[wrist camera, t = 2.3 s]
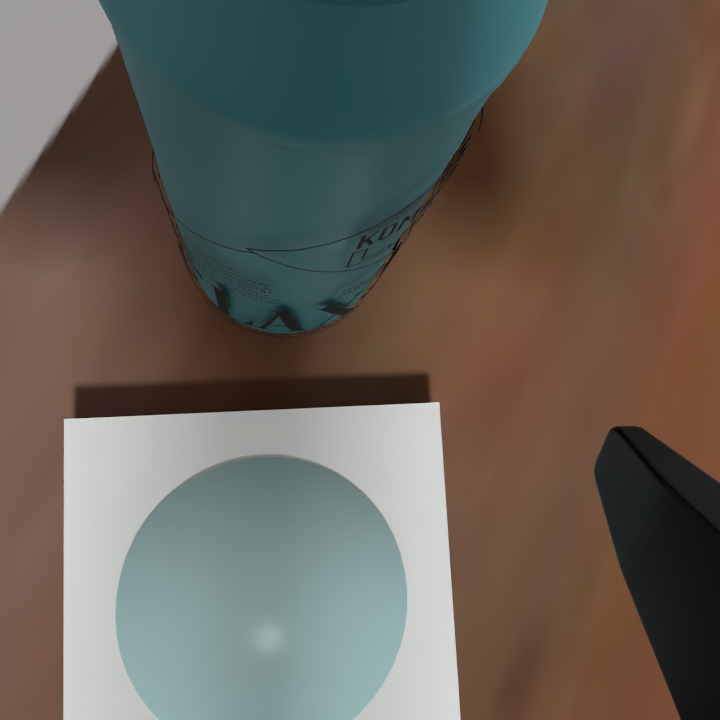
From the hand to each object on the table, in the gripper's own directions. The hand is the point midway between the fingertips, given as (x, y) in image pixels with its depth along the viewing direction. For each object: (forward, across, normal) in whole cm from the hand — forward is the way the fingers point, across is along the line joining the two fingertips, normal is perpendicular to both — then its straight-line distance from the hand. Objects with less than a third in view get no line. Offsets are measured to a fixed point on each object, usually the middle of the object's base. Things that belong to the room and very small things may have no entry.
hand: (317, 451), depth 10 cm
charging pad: (+6, +1, +13) cm, 14 cm away
